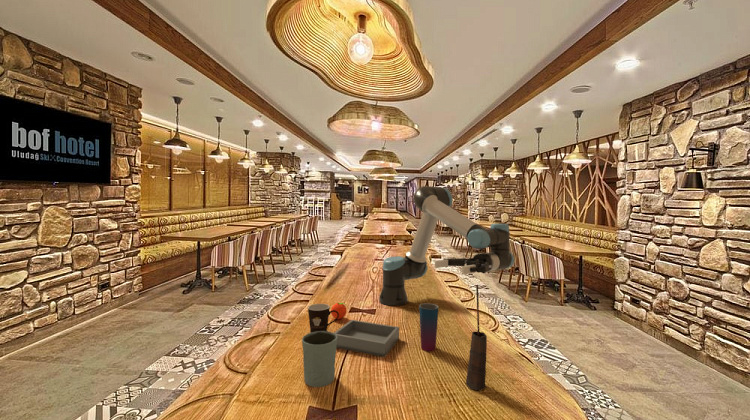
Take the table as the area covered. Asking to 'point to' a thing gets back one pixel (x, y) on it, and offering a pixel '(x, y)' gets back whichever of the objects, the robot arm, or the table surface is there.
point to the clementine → (339, 310)
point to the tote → (367, 337)
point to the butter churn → (477, 357)
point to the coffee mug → (319, 317)
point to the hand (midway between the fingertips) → (448, 267)
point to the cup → (428, 326)
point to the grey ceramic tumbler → (319, 358)
